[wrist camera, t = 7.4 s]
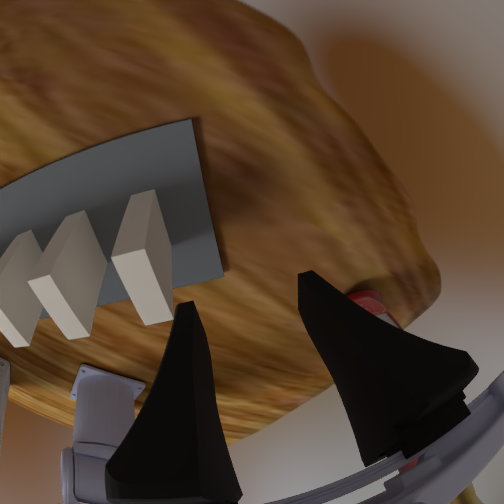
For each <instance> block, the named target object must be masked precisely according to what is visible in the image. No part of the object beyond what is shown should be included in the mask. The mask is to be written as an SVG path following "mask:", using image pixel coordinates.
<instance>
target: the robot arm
mask: <svg viewBox="0 0 504 504" xmlns="http://www.w3.org/2000/svg"><path fill="white" fill-rule="evenodd" d="M298 310H299V313H300V315H301V318H302V321H303V323H304V325H305V328H306V330H307V332H308V334H309V336H310V338H311V339H312V341H313V343H314V345H315V347H316V349H317V350H318V352H319V354H320V356H321V357H322V359H323V361H324V363H325V365H326V366H327V368H328V370H329V372H330V374H331V376H332V378H333V380H334V382H335V384H336V386H337V389H338V392H339V394H340V397H341V399H342V402H343V404H344V407H345V410H346V412H347V415H348V418H349V421H350V423H351V426H352V429H353V432H354V435H355V438H356V442H357V445H358V448H359V452H360V455H361V458H362V461H363V463H364V466H365V467H368V466H370V465H372V464H374V463H376V462H378V461H379V460H382V459H384V458H386V457H387V458H386V459H384V460H383V461H381V462H379V463H377V464H375V465H373V466H370V467H368V468H366V469H364V470H362V471H360V472H358V473H355V474H353V475H351V476H348V477H346V478H344V479H341V480H339V481H336V482H334V483H331V484H328V485H326V486H323V487H320V488H317V489H315V490H311V491H308V492H305V493H302V494H299V495H296V496H292V497H289V498H286V499H282V500H278V501H274V502H270V503H265V504H322V503H325V502H328V501H330V500H333V499H335V498H338V497H341V496H343V495H345V494H348V493H350V492H353V491H355V490H357V489H360V488H362V487H364V486H366V485H368V484H370V483H372V482H374V481H376V480H378V479H380V478H382V477H384V476H386V475H388V474H390V473H392V472H394V471H396V470H397V469H399V468H401V467H403V466H404V465H406V464H408V463H409V462H411V461H413V460H414V459H416V458H418V457H419V458H418V461H417V464H416V465H414V466H412V467H410V468H409V469H407V470H405V471H403V472H401V473H400V474H398V475H396V476H395V477H393V478H391V479H389V480H387V481H386V482H384V486H385V488H386V491H384V492H382V493H380V494H378V495H376V496H373V497H371V498H369V499H367V500H365V501H362V502H360V503H358V504H451V503H450V502H451V501H452V500H453V499H454V498H456V497H457V496H458V495H459V494H460V493H461V492H462V491H463V490H464V489H465V488H466V487H467V486H468V485H469V484H470V483H471V482H472V481H473V480H474V479H475V478H476V477H477V476H478V475H479V473H480V472H481V471H482V470H483V469H484V468H485V467H486V465H487V464H488V463H489V462H490V461H491V460H492V459H493V457H494V456H495V455H496V454H497V453H498V451H499V450H500V449H501V448H502V446H503V445H504V371H503V372H502V373H501V374H500V375H499V376H498V377H497V378H496V379H495V380H494V381H493V382H492V383H491V384H490V385H489V387H488V388H487V389H486V390H485V391H483V392H482V393H481V394H480V395H479V396H478V397H477V398H475V399H474V400H473V401H472V402H471V403H469V404H468V405H467V406H466V404H465V402H464V401H463V400H464V399H465V398H466V396H465V394H464V392H463V390H464V388H465V387H466V386H467V385H468V384H469V383H470V382H471V381H472V380H473V378H474V377H475V376H476V375H477V373H478V371H479V367H478V366H477V365H476V363H475V362H474V361H473V359H472V358H471V356H470V355H469V354H468V353H467V352H466V351H463V350H458V349H454V348H450V347H447V346H443V345H439V344H437V343H434V342H431V341H428V340H425V339H422V338H420V337H417V336H415V335H413V334H410V333H408V332H406V331H403V330H401V329H399V328H397V327H395V326H393V325H391V324H390V323H388V322H386V321H384V320H382V319H380V318H379V317H377V316H375V315H374V314H372V313H370V312H369V311H367V310H366V309H364V308H363V307H361V306H360V305H358V304H357V303H355V302H354V301H352V300H351V299H350V298H348V297H347V296H345V295H344V294H343V293H341V292H340V291H339V290H337V289H336V288H335V287H333V286H332V285H331V284H330V283H328V282H327V281H326V280H324V279H323V278H322V277H321V276H319V275H318V274H317V273H315V272H314V271H313V270H311V271H307V272H304V273H300V274H298ZM145 387H146V384H145V383H144V382H140V381H137V380H133V379H129V378H126V377H123V376H119V375H116V374H113V373H110V372H106V371H103V370H100V369H97V368H94V367H92V366H89V365H86V364H81V366H80V368H79V371H78V374H77V376H76V379H75V382H74V385H73V387H72V390H71V393H70V398H72V399H74V400H76V406H75V418H74V435H73V446H72V448H71V447H66V449H63V450H62V453H61V491H62V494H63V504H80V503H79V502H83V503H89V504H238V501H239V500H240V498H241V497H242V495H243V494H242V491H241V488H240V486H239V483H238V480H237V477H236V474H235V471H234V468H233V465H232V461H231V458H230V455H229V452H228V448H227V445H226V441H225V437H224V434H223V430H222V426H221V422H220V418H219V414H218V409H217V403H216V396H215V388H214V379H213V371H212V363H211V355H210V351H209V346H208V342H207V337H206V333H205V330H204V328H203V325H202V323H201V320H200V317H199V315H198V312H197V309H196V306H195V304H194V301H189V302H185V303H180V304H178V305H177V306H176V310H175V315H174V320H173V324H172V328H171V332H170V336H169V339H168V342H167V346H166V349H165V352H164V355H163V358H162V361H161V364H160V367H159V370H158V372H157V375H156V377H155V380H154V382H153V385H152V387H151V389H150V392H149V394H148V396H147V398H146V400H145V402H144V404H143V406H142V408H141V410H140V412H139V414H138V416H137V418H136V419H135V404H134V400H135V399H136V398H137V397H138V396H139V394H140V393H141V392H142V391H143V390H144V389H145Z"/></svg>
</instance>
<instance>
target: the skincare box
mask: <svg viewBox="0 0 504 504" xmlns="http://www.w3.org/2000/svg"><path fill="white" fill-rule="evenodd" d="M9 387H10V362H9V361H7V360H5V359H4V358H2V357H0V451H1V440H2V429H3V422H4V415H5V408H6V402H7V397H8V392H9Z"/></svg>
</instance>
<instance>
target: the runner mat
mask: <svg viewBox="0 0 504 504" xmlns="http://www.w3.org/2000/svg"><path fill="white" fill-rule="evenodd" d="M153 189H155V192H156V196H157V200H158V203H159V207H160V210H161V213H162V217H163V220H164V224H165V227H166V230H167V233H168V237H169V240H170V243H171V251H172V289H175V288H179V287H184V286H188V285H192V284H196V283H200V282H205V281H209V280H213V279H217V278H221V277H224V273H223V269H222V265H221V260H220V256H219V252H218V247H217V243H216V238H215V234H214V229H213V225H212V220H211V216H210V211H209V206H208V201H207V197H206V192H205V187H204V182H203V177H202V172H201V167H200V162H199V157H198V152H197V147H196V142H195V136H194V131H193V126H192V120H191V119H186V120H182V121H177V122H173V123H169V124H165V125H161V126H157V127H154V128H150V129H146V130H143V131H139V132H136V133H133V134H129V135H126V136H123V137H120V138H117V139H113V140H110V141H108V142H105V143H102V144H99V145H96V146H93V147H91V148H88V149H85V150H83V151H80V152H77V153H75V154H72V155H70V156H67V157H65V158H62V159H60V160H58V161H55V162H53V163H51V164H49V165H46V166H44V167H42V168H40V169H38V170H35V171H33V172H31V173H29V174H27V175H25V176H23V177H21V178H19V179H17V180H15V181H13V182H11V183H10V184H8V185H6V186H4V187H2V188H0V258H1V257H2V255H3V254H4V252H5V251H6V250H7V248H8V247H9V245H10V244H11V243H12V241H13V240H14V239H15V237H16V236H17V235H19V234H21V233H24V232H26V231H29V230H32V232H33V234H34V236H35V238H36V241H37V243H38V245H39V247H40V248H41V250H42V252H44V250H45V249H46V247H47V245H48V244H49V242H50V240H51V239H52V237H53V236H54V234H55V232H56V231H57V229H58V228H59V226H60V225H61V223H62V222H63V220H64V219H65V217H66V216H69V215H71V214H74V213H77V212H80V211H83V210H85V211H86V214H87V216H88V219H89V221H90V224H91V226H92V229H93V231H94V233H95V236H96V238H97V240H98V243H99V245H100V247H101V249H102V252H103V254H104V256H105V258H106V260H107V262H108V263H107V266H106V270H105V274H104V277H103V281H102V285H101V289H100V293H99V297H98V301H97V306H101V305H105V304H110V303H114V302H119V301H123V300H128V299H131V298H130V296H129V294H128V292H127V290H126V288H125V286H124V284H123V282H122V280H121V278H120V276H119V274H118V272H117V270H116V268H115V266H114V263H113V261H112V259H111V255H112V252H113V248H114V245H115V242H116V238H117V235H118V232H119V229H120V226H121V223H122V220H123V217H124V214H125V211H126V208H127V205H128V203H129V200H130V197H131V195H134V194H138V193H141V192H145V191H149V190H153ZM45 317H50V315H49V313H48V312H47V311H46V309H45V308H44V306H43V309H42V312H41V314H40V317H39V319H40V318H45Z"/></svg>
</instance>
